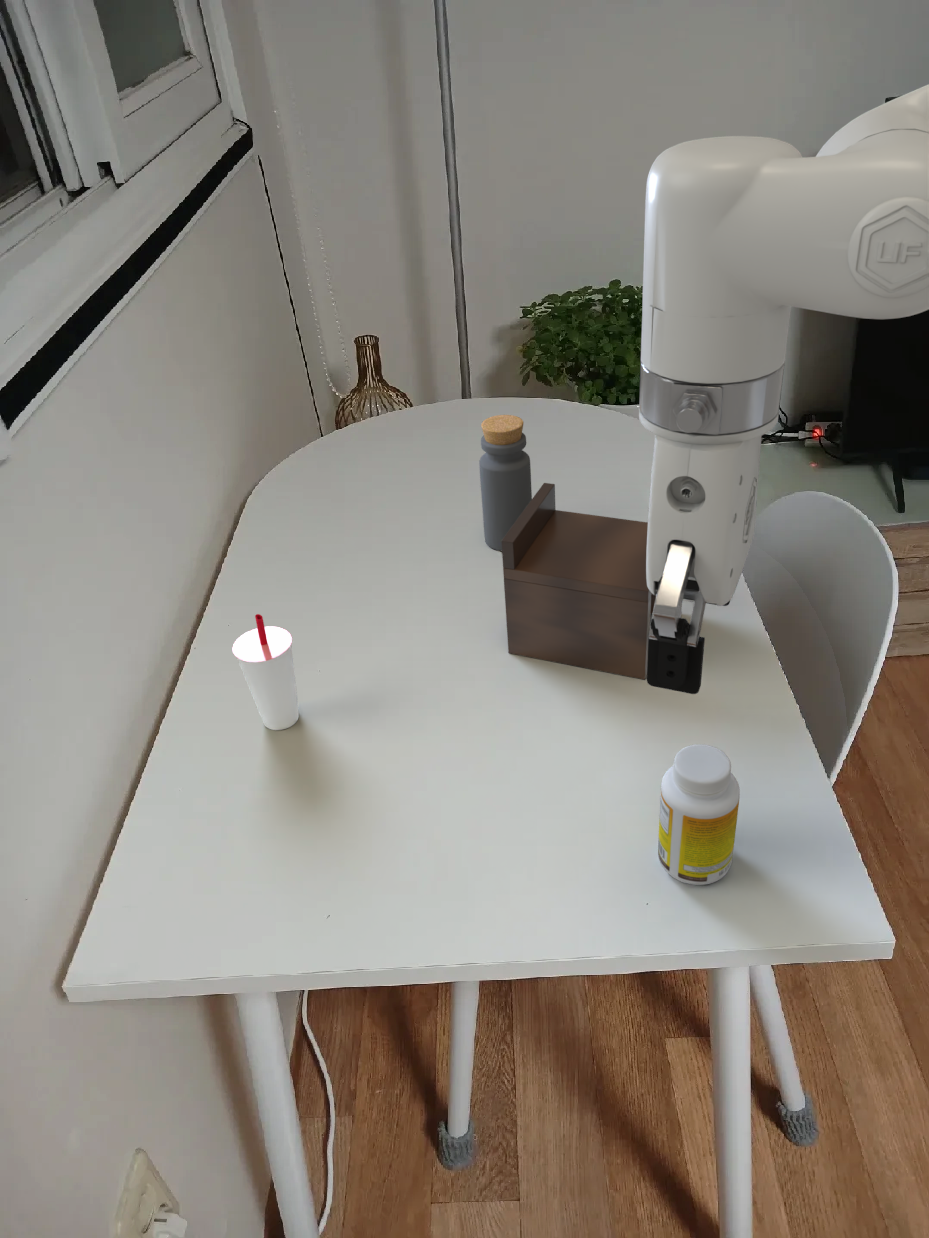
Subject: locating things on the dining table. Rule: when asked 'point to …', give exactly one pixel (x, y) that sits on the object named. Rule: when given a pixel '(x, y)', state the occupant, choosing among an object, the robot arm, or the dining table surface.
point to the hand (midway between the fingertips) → (690, 641)
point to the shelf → (577, 588)
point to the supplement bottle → (698, 815)
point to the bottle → (503, 476)
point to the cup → (269, 673)
